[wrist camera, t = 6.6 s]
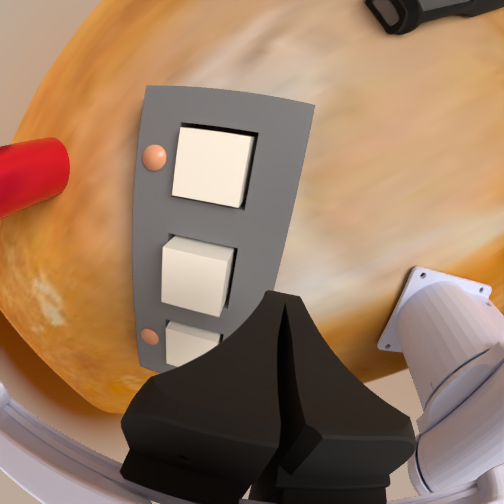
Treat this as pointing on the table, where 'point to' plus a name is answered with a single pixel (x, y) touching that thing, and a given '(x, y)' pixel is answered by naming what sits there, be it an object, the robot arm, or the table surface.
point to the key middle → (196, 274)
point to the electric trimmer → (424, 11)
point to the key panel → (212, 205)
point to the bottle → (31, 173)
